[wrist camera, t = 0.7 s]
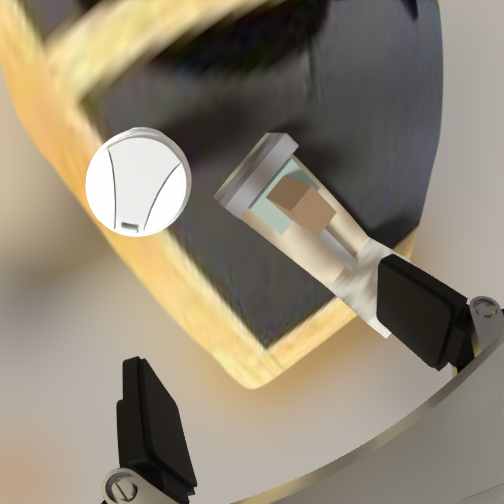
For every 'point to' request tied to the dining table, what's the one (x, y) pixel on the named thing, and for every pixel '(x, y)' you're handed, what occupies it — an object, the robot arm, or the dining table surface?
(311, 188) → the carriage
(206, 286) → the dining table surface
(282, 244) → the track
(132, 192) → the paper cup
